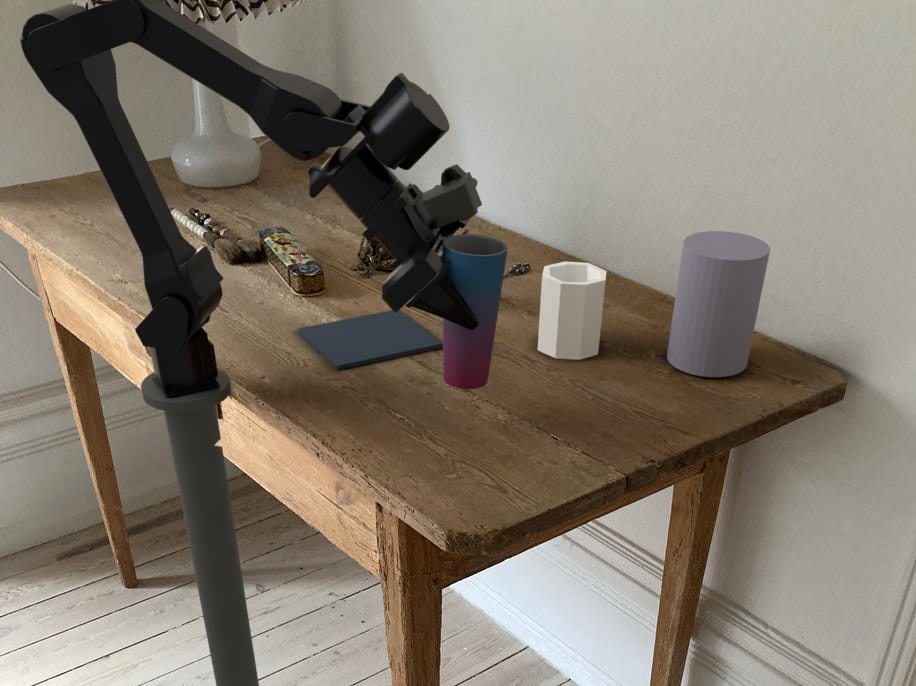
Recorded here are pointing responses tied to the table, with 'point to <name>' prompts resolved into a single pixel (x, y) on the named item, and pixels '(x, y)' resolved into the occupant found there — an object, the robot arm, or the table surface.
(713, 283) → the container
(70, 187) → the table surface
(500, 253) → the cup
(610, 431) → the table surface
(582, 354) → the white octagonal pot
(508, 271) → the table surface
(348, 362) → the placemat
